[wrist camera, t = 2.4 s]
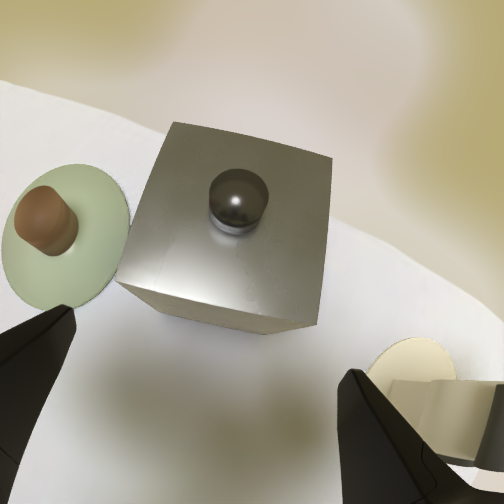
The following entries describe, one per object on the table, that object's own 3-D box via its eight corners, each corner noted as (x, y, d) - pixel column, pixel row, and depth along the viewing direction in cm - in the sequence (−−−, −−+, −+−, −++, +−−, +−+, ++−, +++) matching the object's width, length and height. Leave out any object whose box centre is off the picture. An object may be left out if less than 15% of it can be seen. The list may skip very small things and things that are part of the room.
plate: (6, 319, 16) (2, 318, 16) (11, 187, 20) (8, 183, 19) (138, 298, 19) (136, 297, 18) (126, 154, 22) (124, 150, 21)
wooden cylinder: (36, 260, 18) (12, 245, 14) (37, 213, 19) (16, 193, 15) (79, 251, 19) (58, 233, 15) (78, 202, 20) (61, 179, 16)
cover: (264, 334, 19) (329, 321, 9) (158, 311, 19) (103, 272, 8) (280, 236, 22) (342, 142, 11) (184, 214, 21) (171, 102, 11)
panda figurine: (324, 462, 17) (464, 560, 3) (367, 321, 21) (544, 271, 7) (432, 463, 17) (558, 495, 3) (464, 350, 21) (597, 326, 7)
